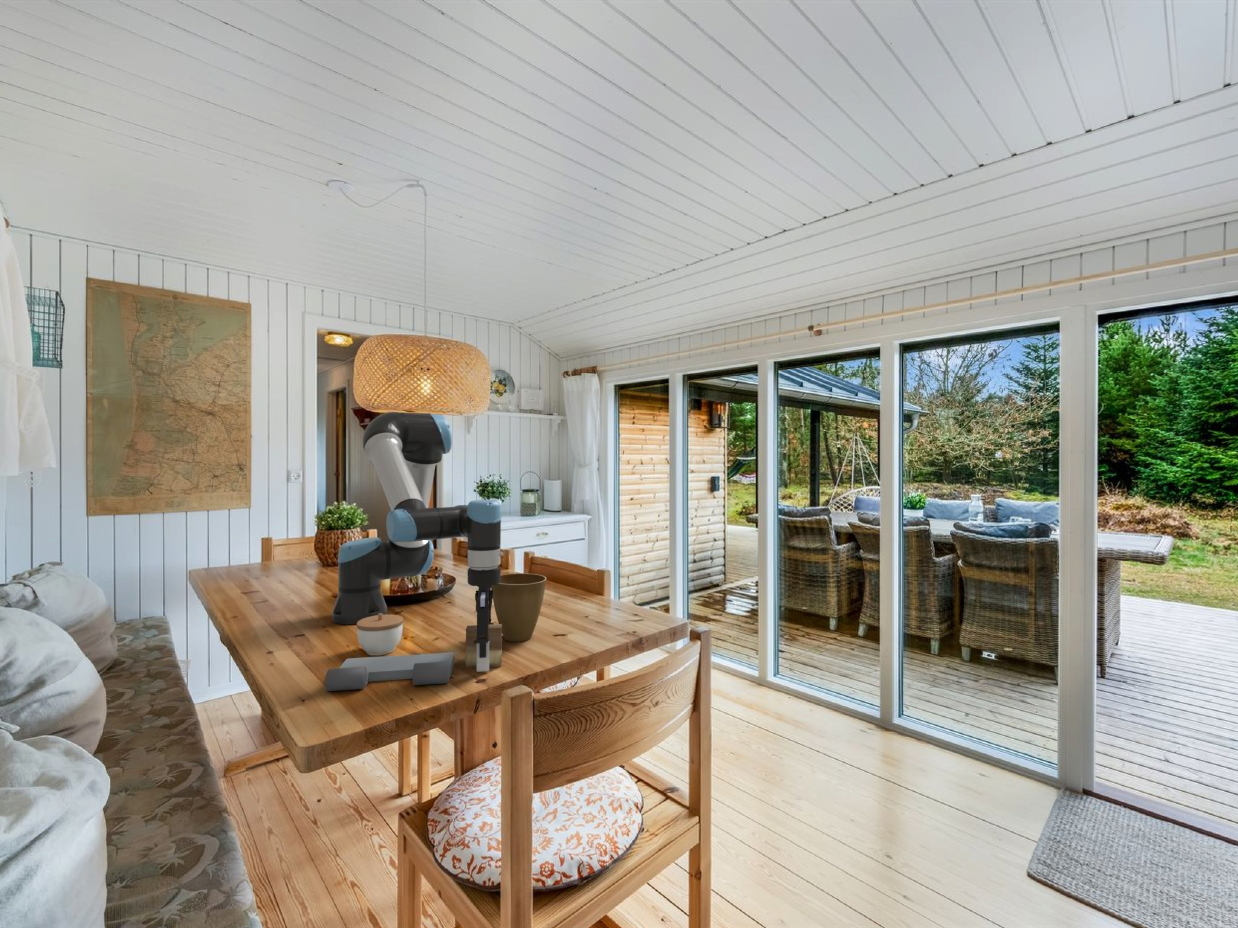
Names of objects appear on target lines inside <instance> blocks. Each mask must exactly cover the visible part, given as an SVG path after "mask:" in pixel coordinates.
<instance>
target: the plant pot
mask: <svg viewBox="0 0 1238 928" xmlns="http://www.w3.org/2000/svg"><path fill="white" fill-rule="evenodd" d="M546 584H547V577H546V576H545V575H541V574H537V573H524V572H523V573H522V572H521V573H504V574H501V581H500V583H498V584H496V585H491V590H493V599H492V603H493V606H494V611H495V614H496V615H495V616H496V620H497V622H498V624H502V638H503V639H504V640H506V641H509V642H524V641H528V640H530V639H531V638H532V636H533V634H534V631H535V628H536V625H537V624H538V620H539V616H540V613H541V609H542V605H543V602H544V595H545V591H546Z"/></svg>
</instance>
